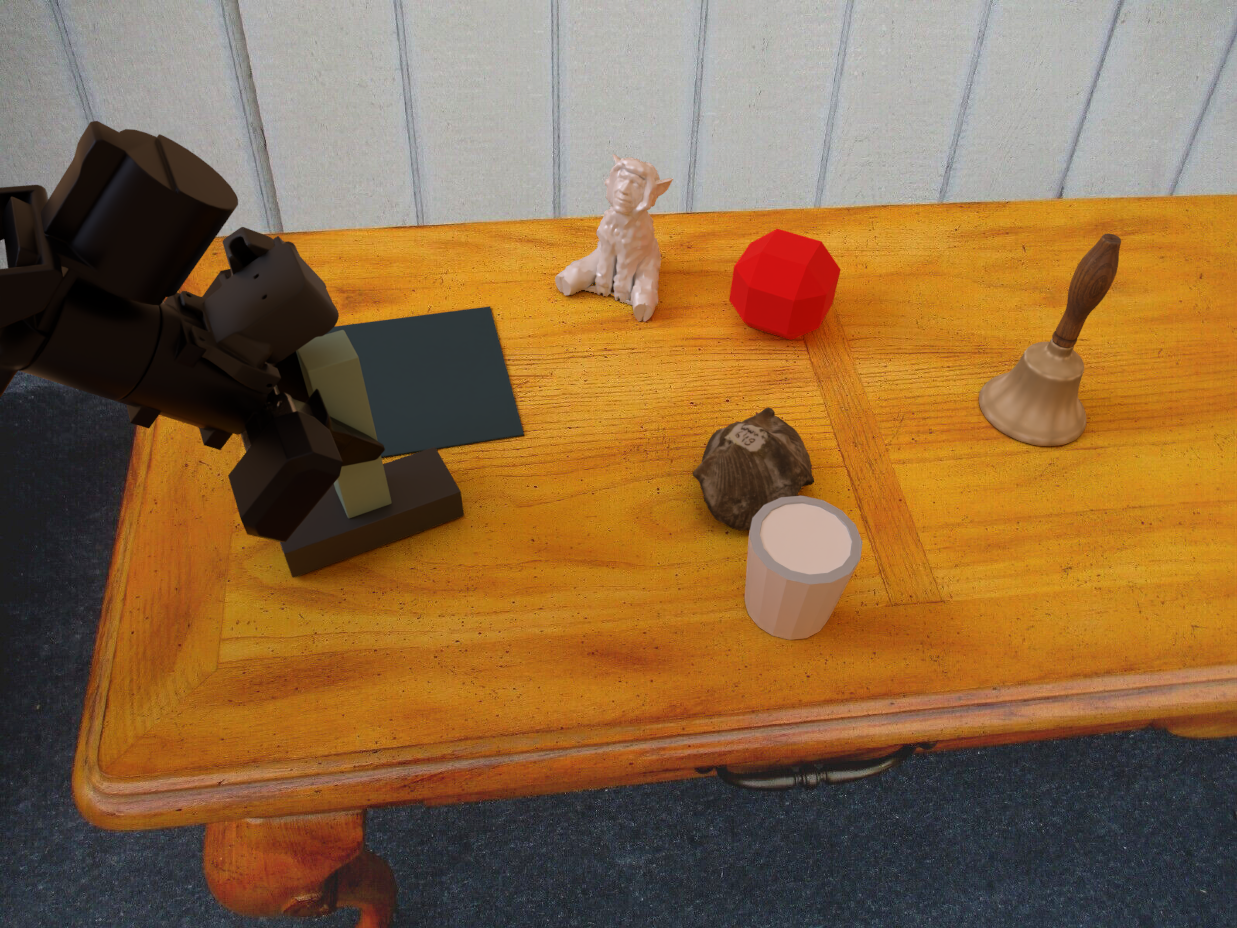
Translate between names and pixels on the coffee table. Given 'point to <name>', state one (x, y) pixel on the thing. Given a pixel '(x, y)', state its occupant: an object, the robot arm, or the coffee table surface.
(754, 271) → the ball
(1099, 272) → the hand bell
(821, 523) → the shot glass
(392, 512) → the wiper
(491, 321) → the cloth mat
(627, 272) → the white creature statuette
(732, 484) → the fossilized seashell
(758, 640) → the coffee table surface
